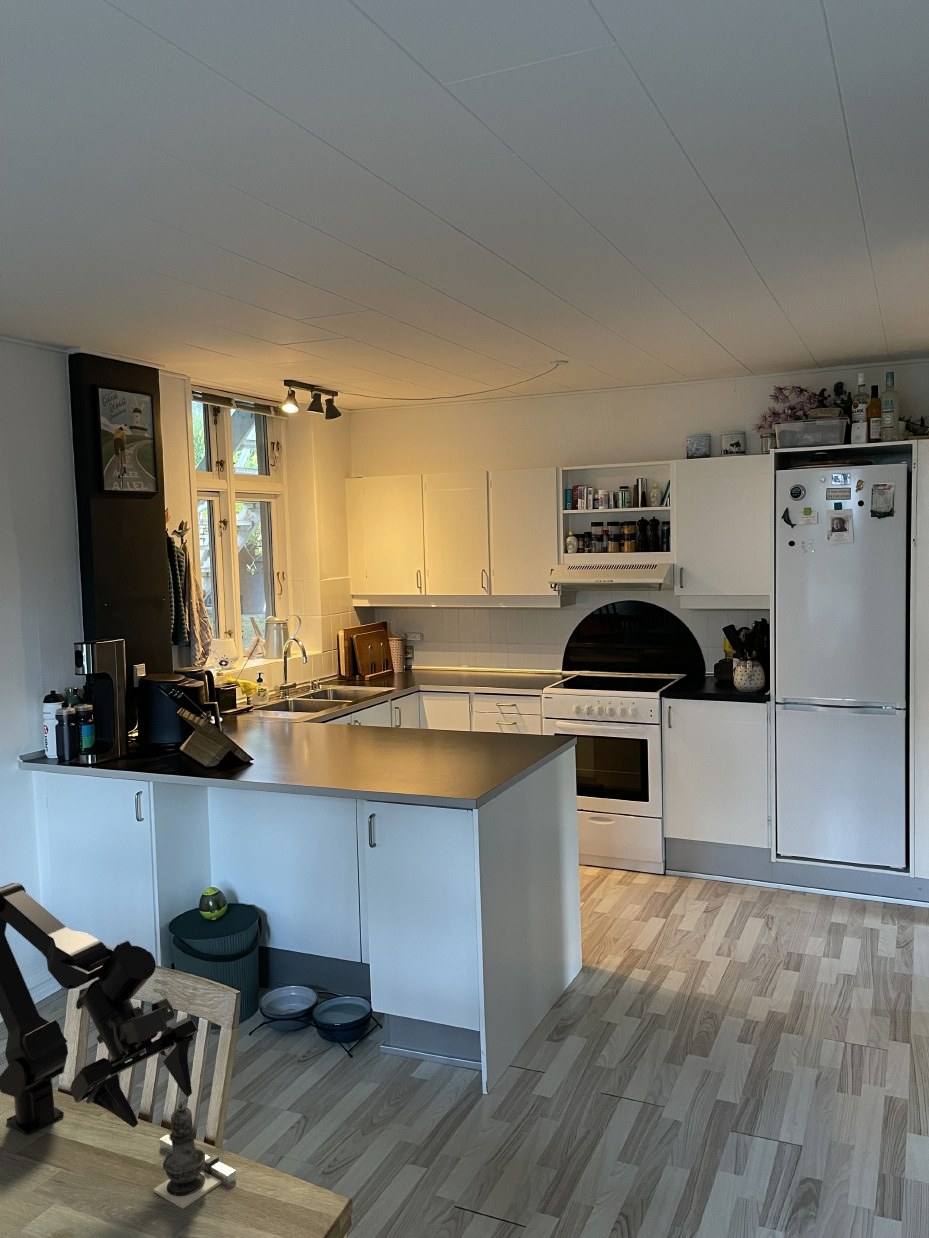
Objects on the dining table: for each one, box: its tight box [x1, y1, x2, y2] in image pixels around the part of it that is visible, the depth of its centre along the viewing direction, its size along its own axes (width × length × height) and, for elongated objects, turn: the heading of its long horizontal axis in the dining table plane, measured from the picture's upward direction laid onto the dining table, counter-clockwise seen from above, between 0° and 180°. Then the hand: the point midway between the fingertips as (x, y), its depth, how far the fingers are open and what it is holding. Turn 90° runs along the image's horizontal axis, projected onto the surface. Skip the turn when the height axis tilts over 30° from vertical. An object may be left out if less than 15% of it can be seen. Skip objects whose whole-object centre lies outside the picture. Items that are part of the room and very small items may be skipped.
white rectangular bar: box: [159, 1134, 237, 1186], centre depth 145 cm, size 16×2×2 cm, turn 53°
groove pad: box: [153, 1170, 222, 1209], centre depth 139 cm, size 7×7×1 cm
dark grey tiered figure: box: [162, 1102, 207, 1196], centre depth 139 cm, size 6×6×12 cm
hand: (163, 1109), depth 141 cm, fingers open, 9 cm apart
